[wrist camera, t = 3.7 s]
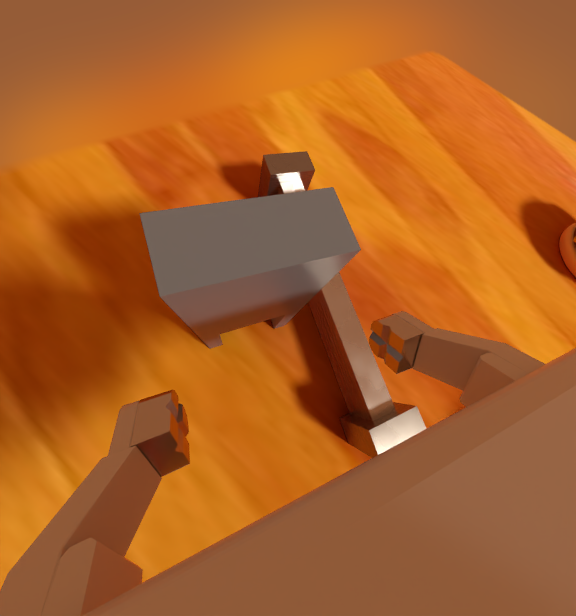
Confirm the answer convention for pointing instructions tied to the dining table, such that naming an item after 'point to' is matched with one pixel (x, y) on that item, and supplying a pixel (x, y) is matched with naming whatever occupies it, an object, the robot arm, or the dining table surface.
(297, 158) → the rail
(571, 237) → the hamburger
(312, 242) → the clip
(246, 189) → the dining table surface
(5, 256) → the dining table surface
